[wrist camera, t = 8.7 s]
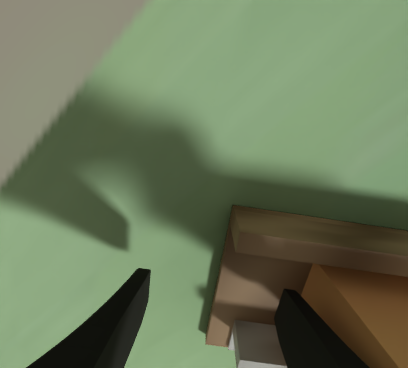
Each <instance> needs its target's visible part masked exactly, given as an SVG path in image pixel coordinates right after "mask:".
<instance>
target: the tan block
mask: <svg viewBox="0 0 408 368" xmlns="http://www.w3.org/2000/svg"><path fill="white" fill-rule="evenodd" d="M301 296H302V297H303V299H304V300H305V301H306V302H307V303H308V304H309V305H310V306H311V307H312V308H313V310H314V311H315V312H316V313H317V314H318V315H319V316H320V317H321V318H322V319H323V321H324V322H325V323H326V324H327V325H328V326H329V327H330V328H331V329H332V330H333V331H334V332H335V333H336V334H337V336H338V337H339V338H340V339H341V340H342V341H343V342H344V343H345V344H346V345H347V346H348V347H349V348H350V349H351V350H352V351H353V352H354V353H355V354H356V355H357V356H358V357H359V358H360V359H361V360H362V361H363V362H364V363H365V364H366V365H368V366H369V367H370V368H408V277H404V276H397V275H390V274H383V273H376V272H369V271H362V270H355V269H348V268H341V267H334V266H328V265H321V264H314V263H313V265H312V267H311V270H310V273H309V275H308V278H307V281H306V283H305V286H304V289H303V291H302V294H301Z"/></svg>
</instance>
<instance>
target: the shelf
mask: <svg viewBox="0 0 408 368" xmlns="http://www.w3.org/2000/svg"><path fill="white" fill-rule="evenodd" d="M313 263H314V264H321V265H328V266H334V267H341V268H348V269H355V270H362V271H369V272H376V273H383V274H390V275H397V276H404V277H408V231H406V230H399V229H392V228H386V227H379V226H372V225H365V224H359V223H352V222H345V221H338V220H331V219H325V218H318V217H311V216H304V215H298V214H291V213H284V212H277V211H270V210H264V209H257V208H250V207H243V206H237V205H233V206H232V211H231V216H230V221H229V225H228V230H227V235H226V240H225V245H224V249H223V254H222V259H221V264H220V269H219V274H218V278H217V283H216V288H215V293H214V298H213V302H212V307H211V312H210V317H209V322H208V326H207V331H206V344H207V345H215V346H222V347H228V350H235V357H236V366H237V368H287V365H286V362H285V359H284V356H283V353H282V350H281V347H280V343H279V340H278V335H277V331H276V326H275V321H274V316H275V313H276V310H277V307H278V304H279V301H280V298H281V295H282V293H283V290H284V289H291V290H296V291H297V292H298V293H299V294H300V295H301V294H302V291H303V289H304V286H305V283H306V281H307V278H308V275H309V273H310V270H311V267H312V265H313Z"/></svg>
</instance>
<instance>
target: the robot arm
mask: <svg viewBox="0 0 408 368" xmlns="http://www.w3.org/2000/svg"><path fill="white" fill-rule="evenodd" d="M150 273H151V270H149V269H142V268H138V269H137V270H136V271H135V272H134V273H133V274H132V275H131V277H130V278H129V279H128V280H127V281H126V282H125V283H124V284H123V285H122V286H121V287H120V289H119V290H118V291H117V292H116V293H115V294H114V295H113V296H112V297H111V298H110V299H109V300H108V301H107V302H106V303H105V304H104V305H102V306H101V307H100V308H99V309H98V310H97V311H96V312H95V313H94V314H93V315H92V316H91V317H89V318H88V319H87V320H86V321H85V322H84V323H83V324H82V325H80V326H79V327H78V328H77V329H76V330H74V331H73V332H72V333H71V334H70V335H68V336H67V337H66V338H65V339H63V340H62V341H61V342H60V343H58V344H57V345H56V346H54V347H53V348H52V349H51V350H49V351H48V352H47V353H45V354H44V355H43V356H41V357H40V358H39V359H37V360H36V361H35V362H33V363H32V364H31V365H29V366H28V367H26V368H124V366H125V364H126V361H127V359H128V356H129V354H130V351H131V349H132V346H133V344H134V341H135V339H136V336H137V333H138V331H139V328H140V326H141V323H142V320H143V317H144V313H145V310H146V307H147V303H148V298H149V285H150ZM274 321H275V326H276V331H277V335H278V340H279V343H280V347H281V350H282V353H283V356H284V359H285V362H286V365H287V368H370V367H369V366H368V365H366V364H365V363H364V362H363V361H362V360H361V359H360V358H359V357H358V356H357V355H356V354H355V353H354V352H353V351H352V350H351V349H350V348H349V347H348V346H347V345H346V344H345V343H344V342H343V341H342V340H341V339H340V338H339V337H338V336H337V334H336V333H335V332H334V331H333V330H332V329H331V328H330V327H329V326H328V325H327V324H326V323H325V322H324V321H323V319H322V318H321V317H320V316H319V315H318V314H317V313H316V312H315V311H314V310H313V308H312V307H311V306H310V305H309V304H308V303H307V302H306V301H305V300H304V299H303V297H302V296H301V295H300V294H299V293H298V292H297V291H296V290H291V289H284V290H283V293H282V295H281V298H280V301H279V304H278V307H277V310H276V313H275V316H274Z"/></svg>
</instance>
